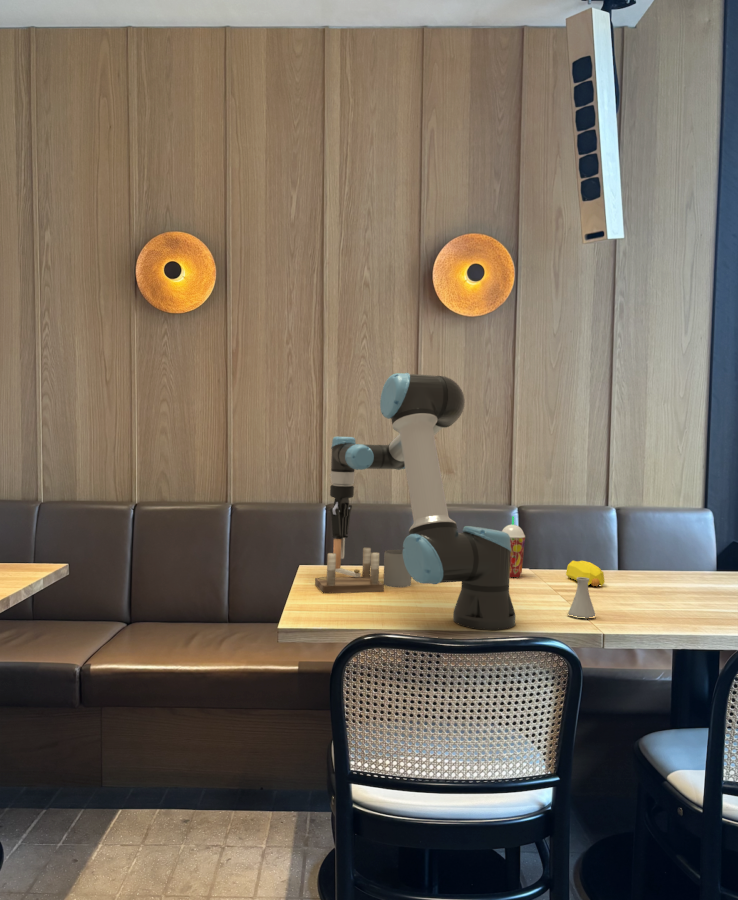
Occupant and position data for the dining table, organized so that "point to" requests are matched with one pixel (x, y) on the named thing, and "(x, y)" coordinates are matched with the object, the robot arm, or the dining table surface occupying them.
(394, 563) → the cup
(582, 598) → the flask
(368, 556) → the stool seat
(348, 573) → the crank handle
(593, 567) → the yellow lumpy oval
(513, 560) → the smoothie
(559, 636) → the dining table surface
